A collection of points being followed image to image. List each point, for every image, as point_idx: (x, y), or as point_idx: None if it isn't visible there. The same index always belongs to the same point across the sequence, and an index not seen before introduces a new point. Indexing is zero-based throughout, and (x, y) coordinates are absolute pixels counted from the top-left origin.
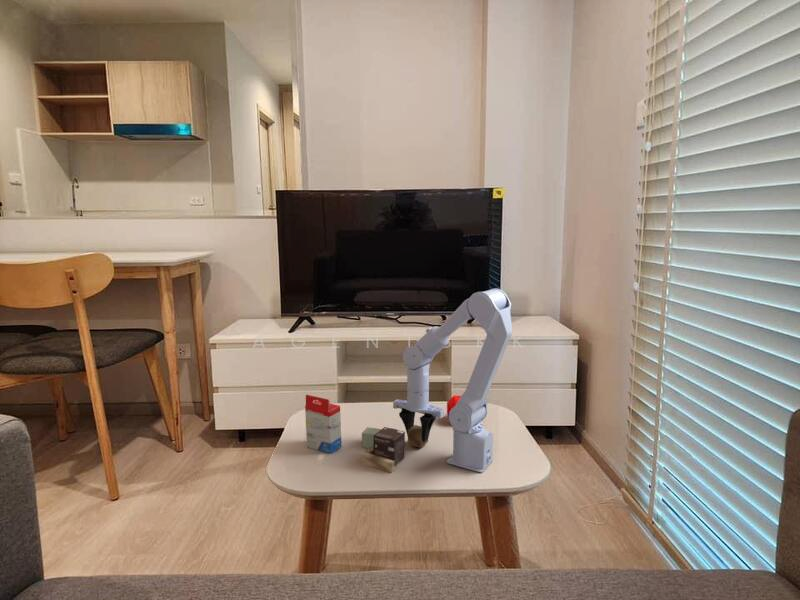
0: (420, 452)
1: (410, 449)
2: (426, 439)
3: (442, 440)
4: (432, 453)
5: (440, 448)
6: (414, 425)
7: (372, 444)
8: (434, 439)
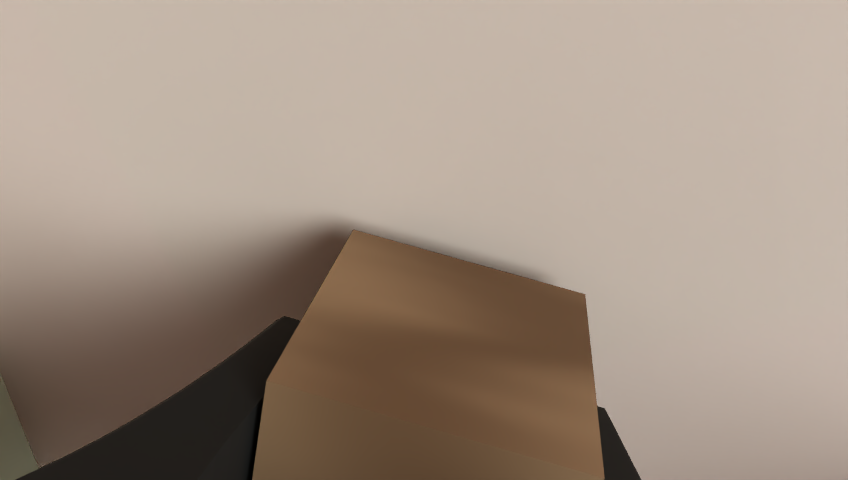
0: None
1: None
2: None
3: (832, 49)
4: (684, 475)
5: (795, 338)
6: (263, 406)
7: None
8: (667, 52)
